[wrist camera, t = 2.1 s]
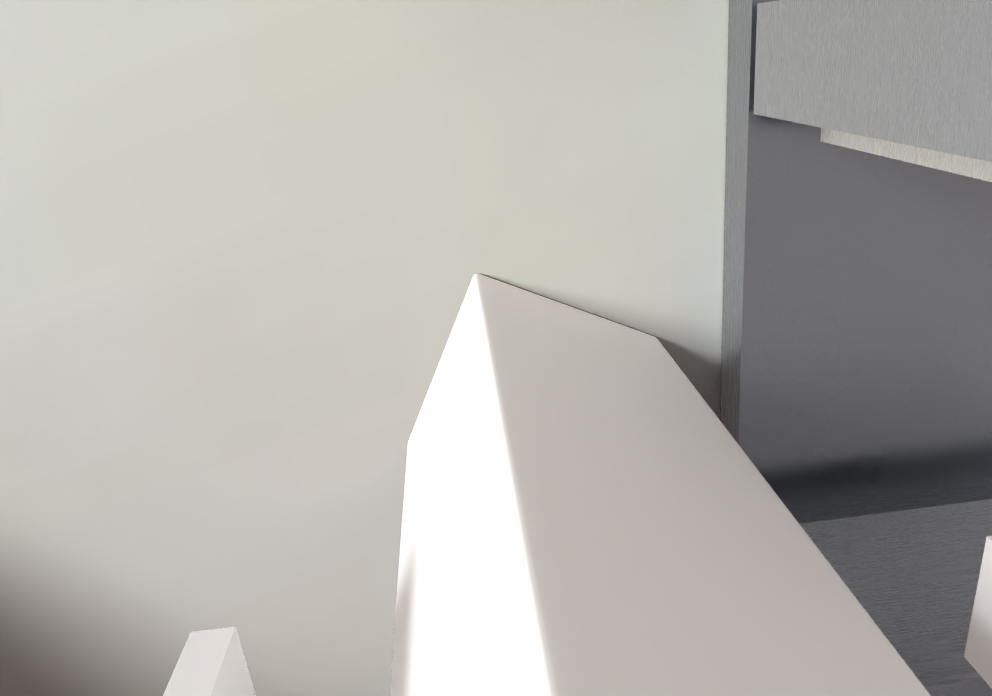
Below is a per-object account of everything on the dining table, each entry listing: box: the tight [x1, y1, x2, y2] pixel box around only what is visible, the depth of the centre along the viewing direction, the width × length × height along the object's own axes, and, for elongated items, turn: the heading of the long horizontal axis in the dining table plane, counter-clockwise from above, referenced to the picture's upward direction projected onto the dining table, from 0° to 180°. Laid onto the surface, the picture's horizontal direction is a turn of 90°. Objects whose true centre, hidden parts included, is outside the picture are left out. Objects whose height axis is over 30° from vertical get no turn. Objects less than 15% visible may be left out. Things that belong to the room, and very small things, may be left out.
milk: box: [390, 273, 931, 696], centre depth 13 cm, size 6×6×22 cm
